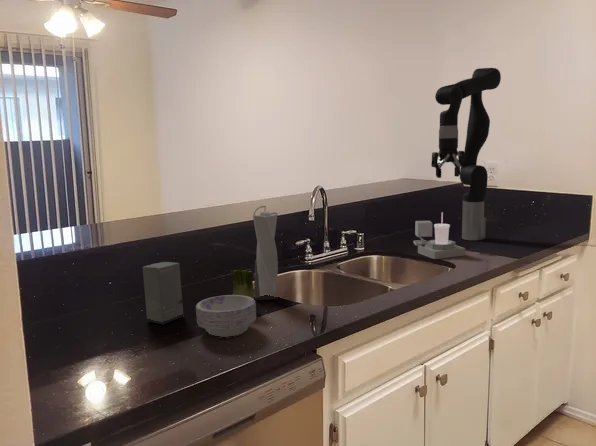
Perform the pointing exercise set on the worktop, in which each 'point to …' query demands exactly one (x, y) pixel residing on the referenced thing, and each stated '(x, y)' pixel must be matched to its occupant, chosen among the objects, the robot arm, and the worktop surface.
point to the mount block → (441, 250)
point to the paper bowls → (226, 314)
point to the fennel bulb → (244, 287)
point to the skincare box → (162, 291)
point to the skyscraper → (265, 254)
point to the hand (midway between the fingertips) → (447, 177)
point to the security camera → (422, 231)
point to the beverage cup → (441, 232)
